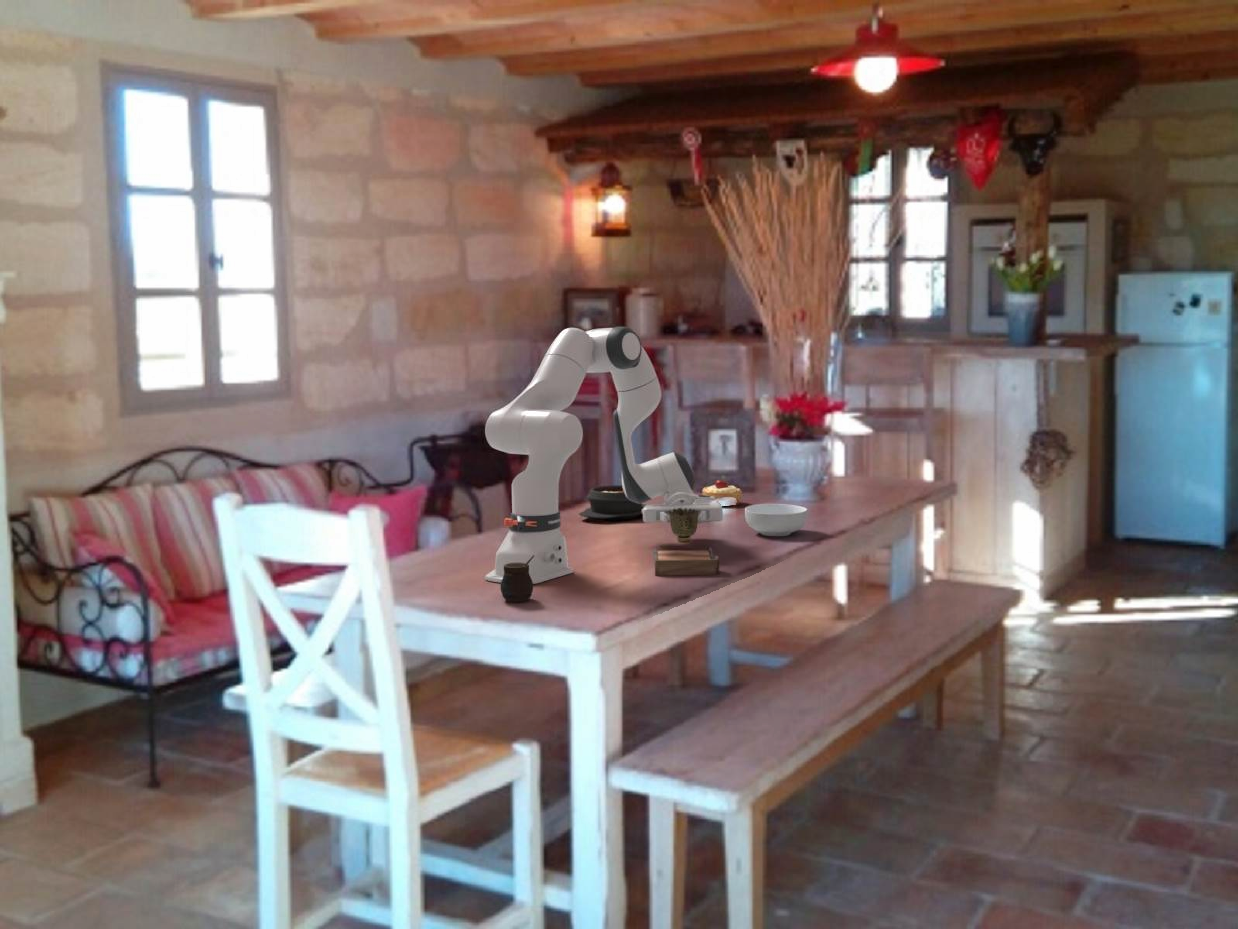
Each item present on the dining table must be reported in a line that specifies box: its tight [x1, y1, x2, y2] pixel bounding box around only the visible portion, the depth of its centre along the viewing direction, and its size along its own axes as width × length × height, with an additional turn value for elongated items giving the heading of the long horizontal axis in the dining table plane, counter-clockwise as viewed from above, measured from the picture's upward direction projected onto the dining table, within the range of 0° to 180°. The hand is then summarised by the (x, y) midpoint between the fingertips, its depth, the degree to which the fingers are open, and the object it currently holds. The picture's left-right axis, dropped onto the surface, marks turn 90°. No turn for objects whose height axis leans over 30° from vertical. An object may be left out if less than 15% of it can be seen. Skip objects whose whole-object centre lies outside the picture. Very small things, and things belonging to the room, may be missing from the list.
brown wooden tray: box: [652, 547, 720, 576], centre depth 347 cm, size 32×15×4 cm, turn 179°
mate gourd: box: [499, 555, 534, 603], centre depth 308 cm, size 7×8×10 cm
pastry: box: [701, 474, 743, 506], centre depth 430 cm, size 12×12×9 cm
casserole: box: [578, 484, 647, 521], centre depth 411 cm, size 25×19×8 cm
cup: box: [669, 508, 699, 544], centre depth 351 cm, size 8×7×8 cm
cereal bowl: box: [744, 503, 808, 537], centre depth 381 cm, size 17×17×7 cm
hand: (683, 518), depth 350 cm, fingers closed on cup, 6 cm apart
